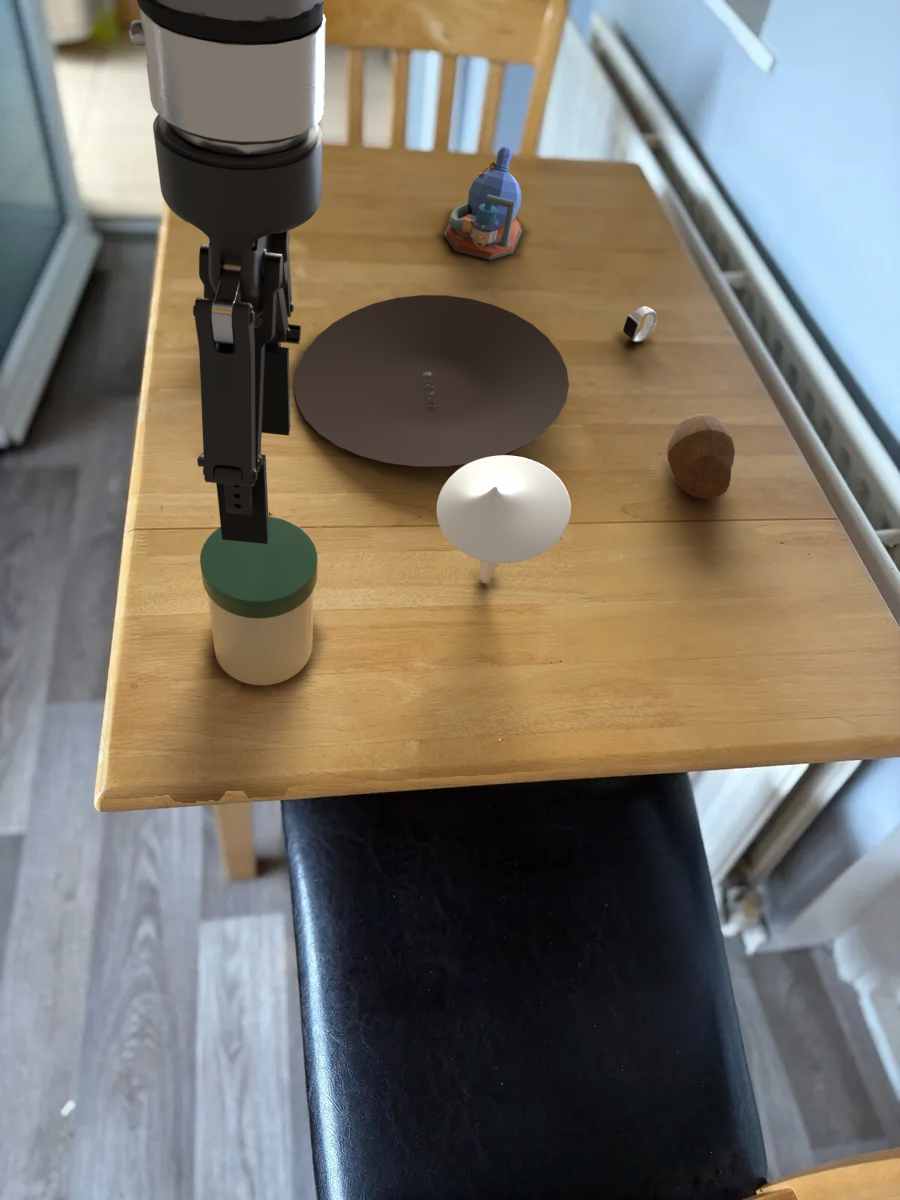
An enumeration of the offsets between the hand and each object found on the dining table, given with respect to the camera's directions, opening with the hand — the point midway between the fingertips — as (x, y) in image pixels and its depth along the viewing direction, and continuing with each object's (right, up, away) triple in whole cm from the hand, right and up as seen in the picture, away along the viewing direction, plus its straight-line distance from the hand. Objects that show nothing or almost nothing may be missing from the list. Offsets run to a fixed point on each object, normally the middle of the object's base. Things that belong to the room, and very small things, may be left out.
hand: (258, 480), depth 58 cm
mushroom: (+15, -6, +21) cm, 27 cm away
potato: (+37, +5, +34) cm, 50 cm away
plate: (+10, +14, +37) cm, 41 cm away
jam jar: (-2, -11, +14) cm, 18 cm away
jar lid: (-1, -5, +6) cm, 8 cm away
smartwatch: (+34, +23, +48) cm, 63 cm away
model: (+17, +39, +59) cm, 73 cm away
